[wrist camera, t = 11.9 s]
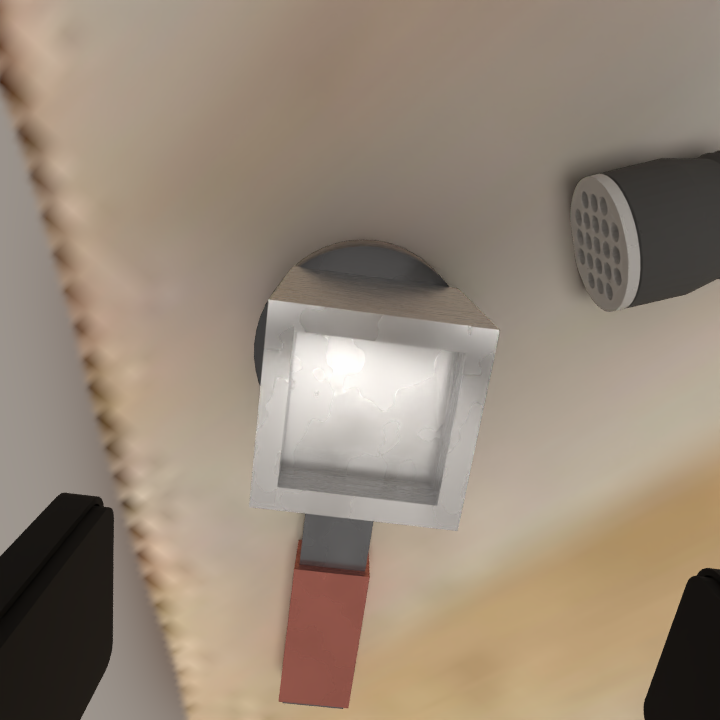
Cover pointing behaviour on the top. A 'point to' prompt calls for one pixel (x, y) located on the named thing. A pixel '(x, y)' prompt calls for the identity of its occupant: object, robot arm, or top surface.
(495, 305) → the top surface
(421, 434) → the socket
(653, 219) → the flashlight
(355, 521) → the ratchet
